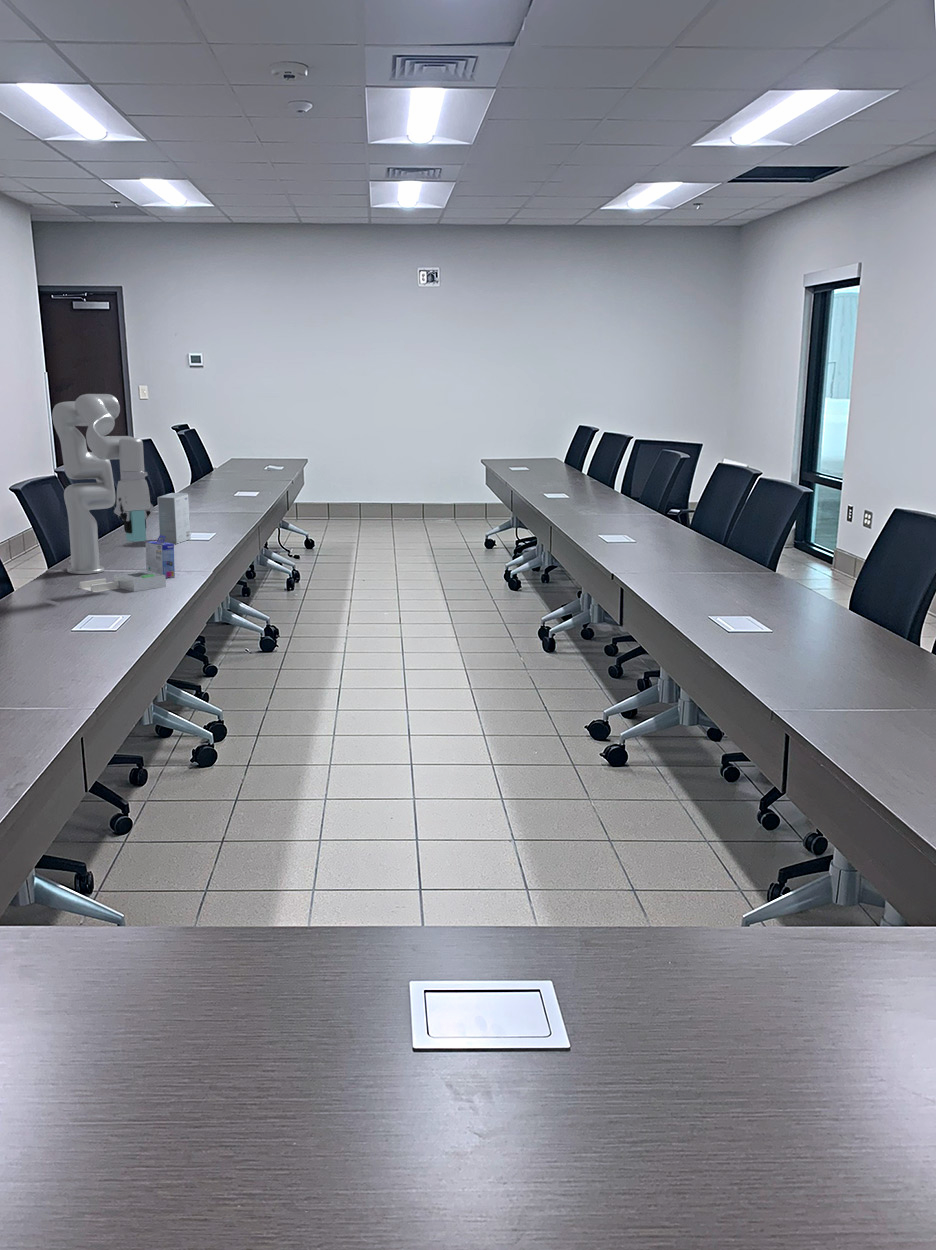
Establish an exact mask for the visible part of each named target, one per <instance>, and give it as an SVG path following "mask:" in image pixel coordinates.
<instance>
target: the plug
mask: <svg viewBox="0 0 936 1250" xmlns="http://www.w3.org/2000/svg"><path fill="white" fill-rule="evenodd" d="M130 521H131V526H132V533H126V532H125V535H126V537H125V538H126V541H127V542H133V543H134V542H144V541H146V542H147V533H146V532H147V527H146V528H145V514H144V510H139V511H131V515H130Z"/></svg>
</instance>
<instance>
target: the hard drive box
mask: <svg viewBox="0 0 936 1250" xmlns="http://www.w3.org/2000/svg"><path fill="white" fill-rule="evenodd" d="M157 511H158V513H157V514H158V515H157V516H158V529H159V535H162V536H166V538H165V540H164V542H167V543H173V544H174V545H178V544H181V543H183V542H186V541H189V540H190V539H191V534H192V533H191V521H190V505H189V494H188V493H187V492H183V493H181V492H171V493H167V494H164V495H161V496H157ZM160 539H161V540H163V539H164V538H162V537H161V538H160ZM180 542H181V543H180ZM177 543H178V544H177Z"/></svg>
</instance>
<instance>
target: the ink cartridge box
mask: <svg viewBox="0 0 936 1250" xmlns="http://www.w3.org/2000/svg"><path fill="white" fill-rule="evenodd" d="M161 537H162V538H164V539H163V540H161V539H160V538H161ZM165 538H166V536H162V535H160V534H159V535H158V537H157V540H152V541H151V540H150V541H146V542H145V563H146V564H145V565H146V566H145V567H146V568H145V570H147V571H151V572H155V573H160V574H164V575H165V576H166V579H169V578H168V577H172V578H175V577H174V576H175V575H176V573H175V572H176V571H175V570H176V569H175V544H173V543H167V542H164V540H165Z"/></svg>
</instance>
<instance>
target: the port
mask: <svg viewBox="0 0 936 1250" xmlns="http://www.w3.org/2000/svg"><path fill="white" fill-rule="evenodd" d="M115 581H116V582H117V585H118V588H119V589H122V590H127V591H130V592H142V591H147V590H156V589H162V588H166V587H167V583H166V581H167V578H166V576H165V575H164V574H160V573H155V572H151V571H147V570H146V569H143V570H135V571H129V572H122V573H115V574H113V582H115Z"/></svg>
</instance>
